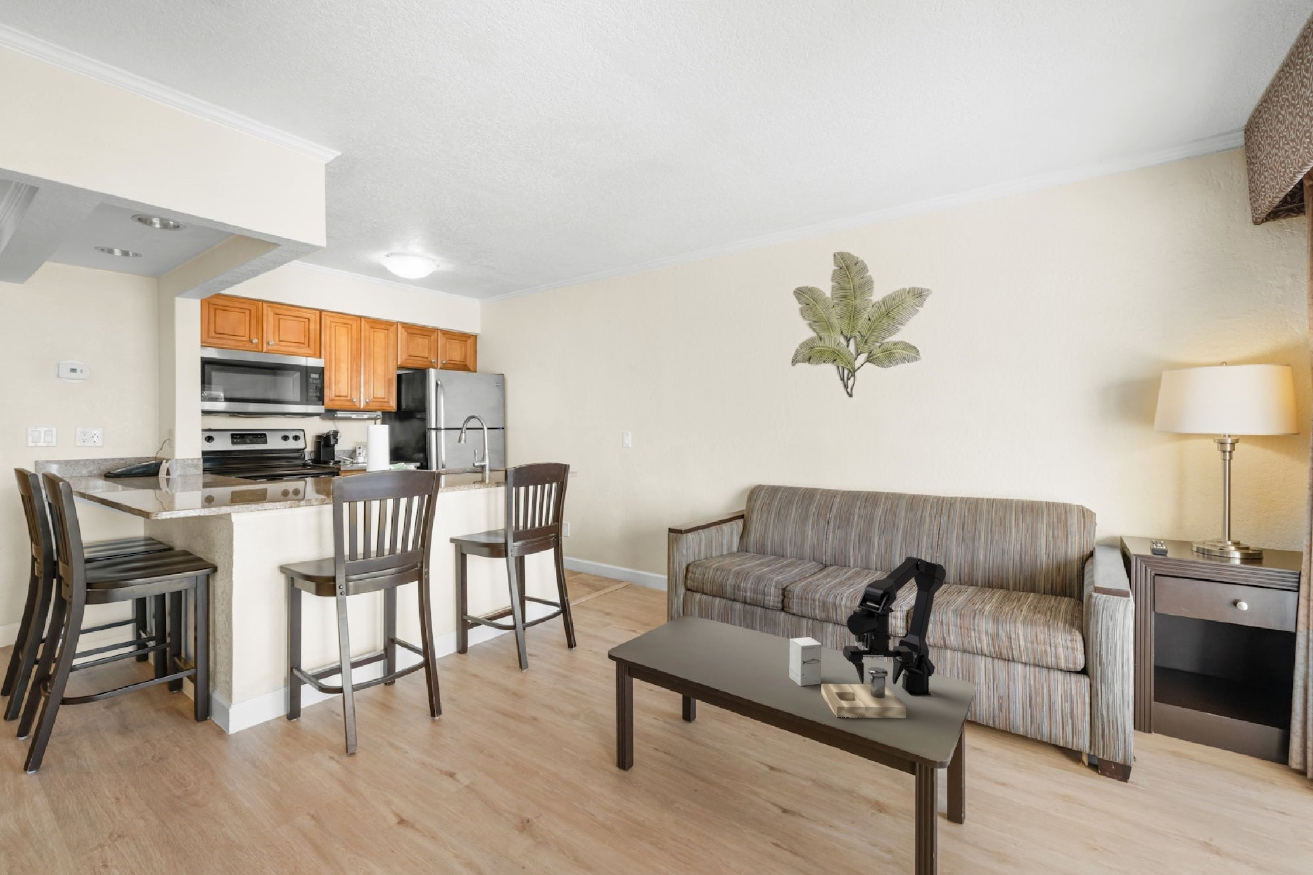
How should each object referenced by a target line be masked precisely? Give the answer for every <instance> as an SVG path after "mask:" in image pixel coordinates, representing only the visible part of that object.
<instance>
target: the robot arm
mask: <svg viewBox="0 0 1313 875" xmlns="http://www.w3.org/2000/svg"><path fill="white" fill-rule="evenodd" d="M946 577H947V571H946V569H945V568H944V566H943V565H942V563H936V562H931V561H928V560H925V559H923V558H921V557H915V556H912V555H911V556H907V557H905V558H904V561H903V562H902V563H901V564H899V565H898V566H897V567H896V568H895V569H894V570H892V571H891V572H890V573H889V574H888V575H886V576H885V577H883V578H882V579H878V580H874V581H872V582H870V583H869V584H867V585H866V586H865V588H864V590H863V592H862V594H861V597H860V599H859V601H858V604H857V606H856V608H857V609H853V611H852V614H851V615H849V616H848V618H847V620H846V626H847V629H848V631H849V632H850V633H851V634H852V635H853V636H854V641H855V643H861V647H864V648H865V649H860V647H859V646H858V645H845V646H844V647H843V649H842V655H843V657H844V658H845V659H846V660H847V661H848V662H849V663H852V665H854V667H855V669H856V673H857V676H858V678H859V682H860V684H864V682H865V663H864V662H863V660H864V658H891V659H892V663H893V664H892V684H893V685H896V684H897V682H898V681H899V679H900V677H901V676H902V682H901V684H902V685H901V688H903V690H904V691H905V692H906V693H907V694H908V695H910V696H932V692H930V677H932V676H933V675H934V673H935V669H936V666H935V665H934V663H933V661H931V659H930V658H929V657H930V649H929V647H928V644H927V635H928V630H929V624H930V619H931V614H932V610H933V605H934V599H935V594H936V593H937V592H938V591H939V590H940V589H941V588H942V587H943V584H944V581H945V578H946ZM911 580H914V583H915V585H916V588H917V590H916V595H915V600H914V605H913V608H912V615H911V619H910V624H909V629H908V633H907V635H906V636H905V638H904V639H902V638H901V639H900V640H899V641H898V645H894V646H893V648H892V649H890V640H892V637H891V635H890V614H892V613H894V612H895V610H894V609H893V608H892V604H894V602H895V601H896V600H897V599H898V598H897V595H898V592H899V591H900V590H901V589H902V588H903V587H905V585H907V584H908V583H909V582H910V581H911Z"/></svg>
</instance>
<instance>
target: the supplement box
mask: <svg viewBox="0 0 1313 875" xmlns="http://www.w3.org/2000/svg"><path fill="white" fill-rule="evenodd" d="M788 667H789V670H788V671H789V672H788V675H789V676H788V678H790V680H792V681H793V682H794V683H796V684H797V685H798V687H799V686H800V687H803V686H811V685H812V686H813V685H821V684H822V683H821V682H822V643H820V642H819V641H817V640H816V639H814V638H812V637H811V636H809V637H794V638H789V666H788Z"/></svg>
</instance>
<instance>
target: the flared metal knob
mask: <svg viewBox="0 0 1313 875" xmlns="http://www.w3.org/2000/svg"><path fill="white" fill-rule="evenodd" d="M888 672H889V671H888V670H887V669H886V668H882V667H878V666H877V667H876V666H872V667H869V668H868V669H867V673H868V674H869V675H870V682H869V683H870V695H871V696H873V697H875V698H884V697H885V685H886V678H887V677H888V675H889V674H888Z"/></svg>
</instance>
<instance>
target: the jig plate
mask: <svg viewBox="0 0 1313 875" xmlns="http://www.w3.org/2000/svg"><path fill="white" fill-rule="evenodd" d="M820 685H821V689H820V690H821V691H820V693H821V694H820V695H821V696H822V697H823V699H824V700H825V702H826V704H827V705H828V706H829V708H830V710H831V711H832V712H833V714H834V715H836V716H835V717H836V718H837V717H841V718H842V717H845V718H846V717H849V719H851V718H853V719H859V718H860V719H861V718H862V719H864V718H865V719H907V707H906V705H905V704H904V703H903V701H901V700H900V699H899V698H898V696H896V695H895V693H894V692H893V691H892V690H891V689H890V688H889V687H888V686H887V685H886V684H885V697H884V698H875V697H873V696H871V695H870V684H869V683H867V684H864V683H863V684H861V683H858V684H857V683H852V684H851V683H821V684H820ZM858 717H859V718H858ZM841 718H840V719H841Z"/></svg>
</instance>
